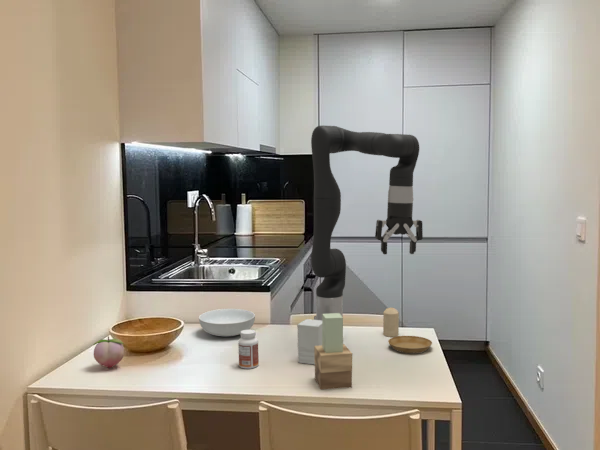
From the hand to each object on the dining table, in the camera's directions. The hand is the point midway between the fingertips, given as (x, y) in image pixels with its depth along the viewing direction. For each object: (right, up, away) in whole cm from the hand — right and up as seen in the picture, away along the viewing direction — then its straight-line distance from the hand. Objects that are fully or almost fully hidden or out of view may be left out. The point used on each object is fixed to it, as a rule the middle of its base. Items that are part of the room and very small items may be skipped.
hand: (398, 253), depth 186 cm
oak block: (-20, -32, -11) cm, 39 cm away
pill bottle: (-46, -36, +5) cm, 58 cm away
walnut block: (-20, -37, -10) cm, 43 cm away
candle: (+3, -32, +37) cm, 49 cm away
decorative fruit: (-89, -36, +4) cm, 96 cm away
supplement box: (-26, -35, +9) cm, 44 cm away
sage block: (-21, -27, -11) cm, 36 cm away
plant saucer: (+7, -34, +21) cm, 41 cm away
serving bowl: (-57, -32, +41) cm, 77 cm away
